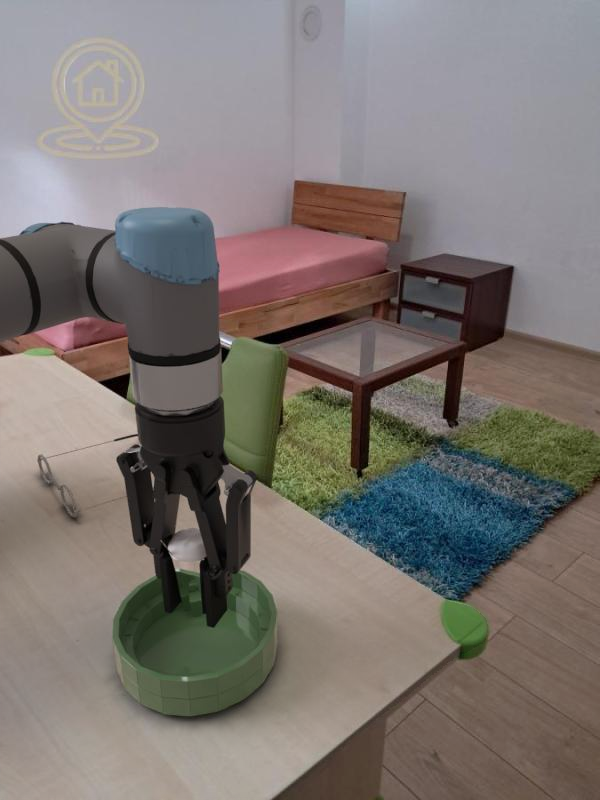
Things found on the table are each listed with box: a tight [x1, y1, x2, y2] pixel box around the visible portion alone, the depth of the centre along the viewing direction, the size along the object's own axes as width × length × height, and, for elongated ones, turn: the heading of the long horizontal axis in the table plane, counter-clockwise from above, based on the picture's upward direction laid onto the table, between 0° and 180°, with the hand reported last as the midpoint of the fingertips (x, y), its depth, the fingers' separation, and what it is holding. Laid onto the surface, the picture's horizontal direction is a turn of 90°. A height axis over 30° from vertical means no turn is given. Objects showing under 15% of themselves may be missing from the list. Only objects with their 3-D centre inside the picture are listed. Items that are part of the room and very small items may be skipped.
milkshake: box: [160, 527, 209, 622], centre depth 62 cm, size 4×5×10 cm
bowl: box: [111, 569, 278, 717], centre depth 65 cm, size 16×16×5 cm
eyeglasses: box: [36, 433, 154, 518], centre depth 97 cm, size 18×19×4 cm
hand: (195, 610), depth 63 cm, fingers closed on milkshake, 4 cm apart
